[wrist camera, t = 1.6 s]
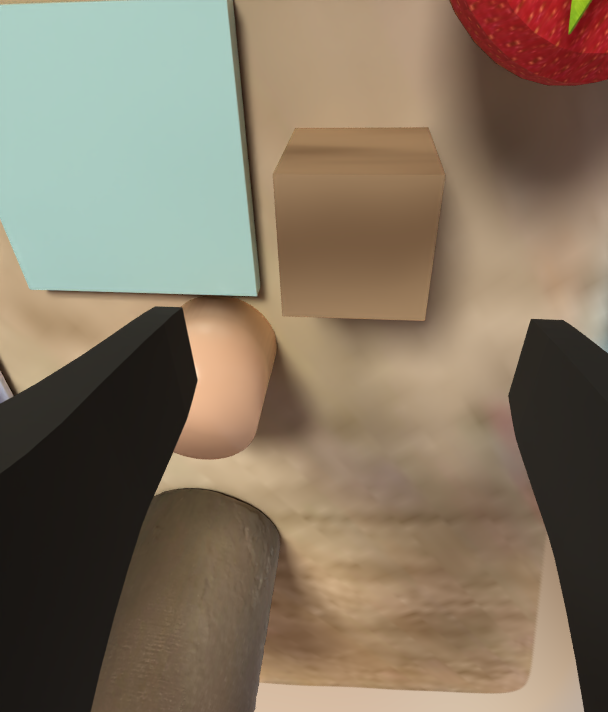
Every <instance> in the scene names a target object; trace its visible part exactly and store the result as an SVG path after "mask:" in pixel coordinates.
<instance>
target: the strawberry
mask: <svg viewBox="0 0 608 712" xmlns="http://www.w3.org/2000/svg"><path fill="white" fill-rule="evenodd" d="M449 1H450V3H451V5H452V7H453V10H454V12H455V14H456V15H457V17H458V18H459V20H460V21H461V23H462V24H463V26H464V27H465V29H466V30H467V32H468V33H469V35H470V36H471V38H472V39H473V41H474V42H475V43H476V44H477V45H478V46H479V47H480V48H481V49H482V50H483V51H484V52H485V53H486V54H487V55H488V56H489V57H490V58H491V59H492V60H493V61H494V62H495V63H496V64H498V65H500V66H501V67H503V68H505V69H507V70H508V71H510V72H512V73H513V74H515V75H517V76H518V77H520V78H523V79H526V80H530V81H534V82H537V83H541V84H544V85H561V86H576V85H583V84H589V83H594V82H599V81H603V80H607V79H608V0H449Z"/></svg>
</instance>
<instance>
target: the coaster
mask: <svg viewBox="0 0 608 712" xmlns="http://www.w3.org/2000/svg"><path fill="white" fill-rule="evenodd" d="M0 219H1V222H2V224H3V227H4V229H5V231H6V234H7V236H8V238H9V241H10V243H11V246H12V248H13V250H14V253H15V255H16V257H17V260H18V262H19V265H20V267H21V269H22V272H23V274H24V277H25V279H26V281H27V284H28V286H29V288H30V289H32V290H66V291H99V292H133V293H166V294H200V295H233V296H257V295H258V292H259V289H260V277H259V267H258V256H257V246H256V235H255V225H254V215H253V204H252V194H251V183H250V173H249V163H248V152H247V142H246V131H245V121H244V111H243V100H242V90H241V79H240V69H239V58H238V48H237V38H236V27H235V17H234V6H233V0H104V1H75V2H46V3H17V4H0Z"/></svg>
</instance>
